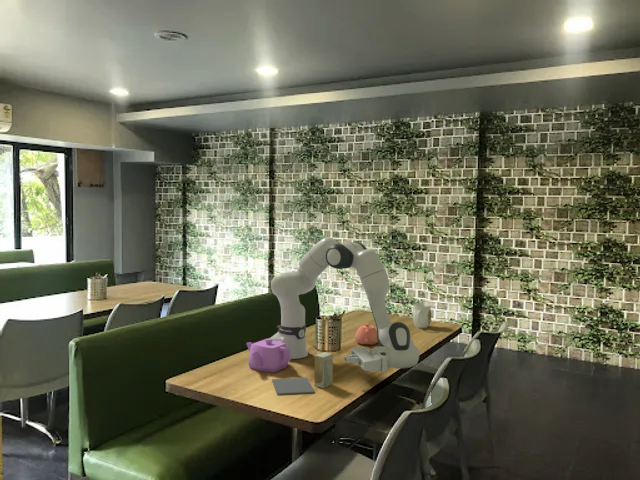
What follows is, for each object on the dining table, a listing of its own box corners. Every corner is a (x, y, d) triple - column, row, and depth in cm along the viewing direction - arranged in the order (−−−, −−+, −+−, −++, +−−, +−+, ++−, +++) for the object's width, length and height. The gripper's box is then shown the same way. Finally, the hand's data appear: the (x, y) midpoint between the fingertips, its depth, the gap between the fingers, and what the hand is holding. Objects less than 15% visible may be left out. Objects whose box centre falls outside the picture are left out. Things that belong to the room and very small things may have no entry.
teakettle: (291, 372, 217) (292, 343, 217) (251, 374, 213) (251, 345, 212) (283, 360, 234) (284, 333, 233) (245, 362, 229) (246, 335, 229)
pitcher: (408, 329, 299) (409, 305, 298) (415, 323, 315) (416, 300, 315) (427, 331, 295) (428, 307, 294) (433, 325, 311) (434, 302, 310)
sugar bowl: (378, 340, 272) (379, 321, 271) (379, 347, 258) (379, 327, 258) (355, 339, 273) (355, 320, 273) (354, 346, 259) (354, 326, 259)
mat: (306, 379, 209) (306, 377, 209) (314, 393, 193) (314, 391, 193) (272, 380, 206) (272, 379, 206) (277, 395, 190) (277, 393, 190)
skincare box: (324, 381, 206) (324, 351, 205) (332, 384, 203) (333, 353, 202) (313, 386, 201) (314, 354, 200) (322, 388, 198) (323, 357, 197)
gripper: (371, 343, 216) (339, 344, 213) (388, 357, 196) (352, 358, 193) (371, 358, 217) (338, 359, 214) (387, 373, 197) (352, 375, 194)
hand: (345, 359), depth 203 cm, fingers closed
